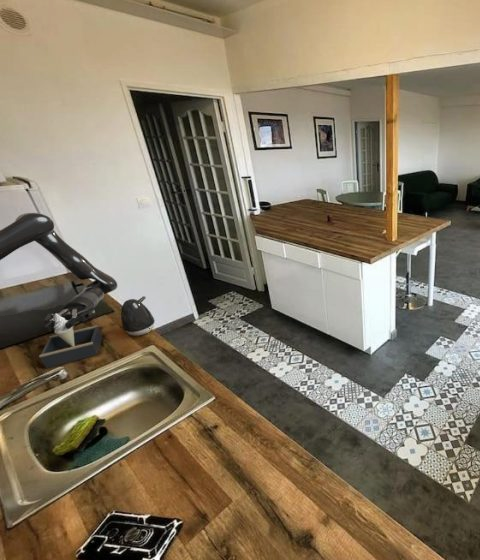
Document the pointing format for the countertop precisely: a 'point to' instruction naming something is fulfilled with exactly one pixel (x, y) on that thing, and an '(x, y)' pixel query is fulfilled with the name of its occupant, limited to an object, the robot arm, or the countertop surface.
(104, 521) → the countertop surface
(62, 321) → the ice cream cone
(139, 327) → the pump dispenser
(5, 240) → the robot arm
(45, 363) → the basket
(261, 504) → the countertop surface
